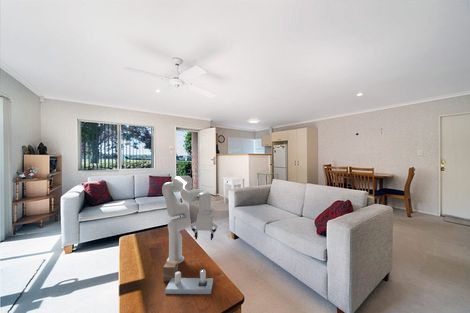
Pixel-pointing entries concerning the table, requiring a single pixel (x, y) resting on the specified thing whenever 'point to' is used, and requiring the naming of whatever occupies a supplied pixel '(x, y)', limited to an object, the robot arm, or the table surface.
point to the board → (188, 285)
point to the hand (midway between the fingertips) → (203, 238)
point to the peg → (203, 277)
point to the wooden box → (170, 270)
